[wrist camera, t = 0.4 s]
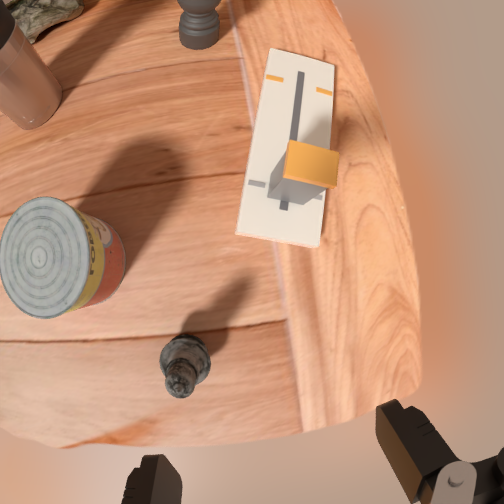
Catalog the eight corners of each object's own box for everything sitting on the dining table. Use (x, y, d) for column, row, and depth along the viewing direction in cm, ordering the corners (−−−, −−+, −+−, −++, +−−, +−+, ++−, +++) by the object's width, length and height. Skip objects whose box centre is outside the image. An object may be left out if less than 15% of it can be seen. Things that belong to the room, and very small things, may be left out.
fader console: (312, 248, 38) (319, 246, 36) (234, 234, 37) (236, 231, 34) (328, 73, 40) (334, 65, 38) (267, 57, 39) (270, 47, 37)
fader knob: (304, 206, 35) (336, 186, 26) (265, 198, 35) (285, 174, 25) (307, 180, 36) (339, 152, 26) (269, 171, 35) (289, 139, 26)
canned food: (143, 254, 35) (113, 248, 23) (93, 323, 34) (49, 343, 22) (83, 200, 34) (39, 174, 23) (37, 266, 33) (-16, 264, 21)
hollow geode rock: (-11, 76, 36) (-47, 90, 25) (-21, 32, 27) (-57, 37, 16) (96, 19, 39) (77, 13, 28) (87, -29, 31) (68, -45, 20)
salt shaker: (210, 332, 36) (211, 361, 24) (210, 377, 36) (212, 421, 24) (163, 330, 35) (143, 358, 23) (164, 375, 35) (147, 417, 23)
